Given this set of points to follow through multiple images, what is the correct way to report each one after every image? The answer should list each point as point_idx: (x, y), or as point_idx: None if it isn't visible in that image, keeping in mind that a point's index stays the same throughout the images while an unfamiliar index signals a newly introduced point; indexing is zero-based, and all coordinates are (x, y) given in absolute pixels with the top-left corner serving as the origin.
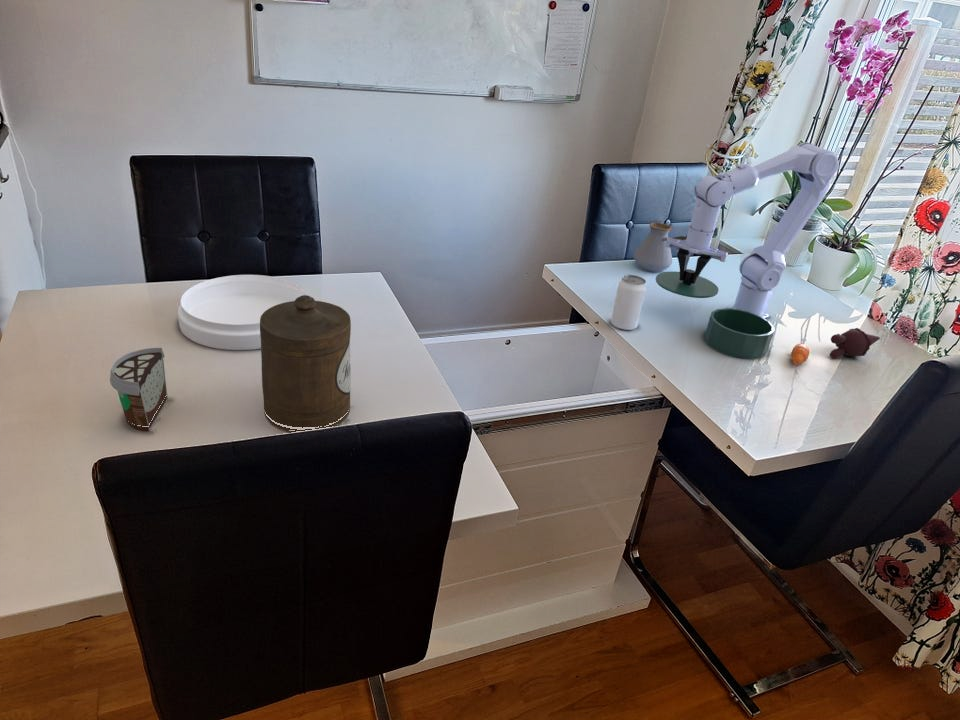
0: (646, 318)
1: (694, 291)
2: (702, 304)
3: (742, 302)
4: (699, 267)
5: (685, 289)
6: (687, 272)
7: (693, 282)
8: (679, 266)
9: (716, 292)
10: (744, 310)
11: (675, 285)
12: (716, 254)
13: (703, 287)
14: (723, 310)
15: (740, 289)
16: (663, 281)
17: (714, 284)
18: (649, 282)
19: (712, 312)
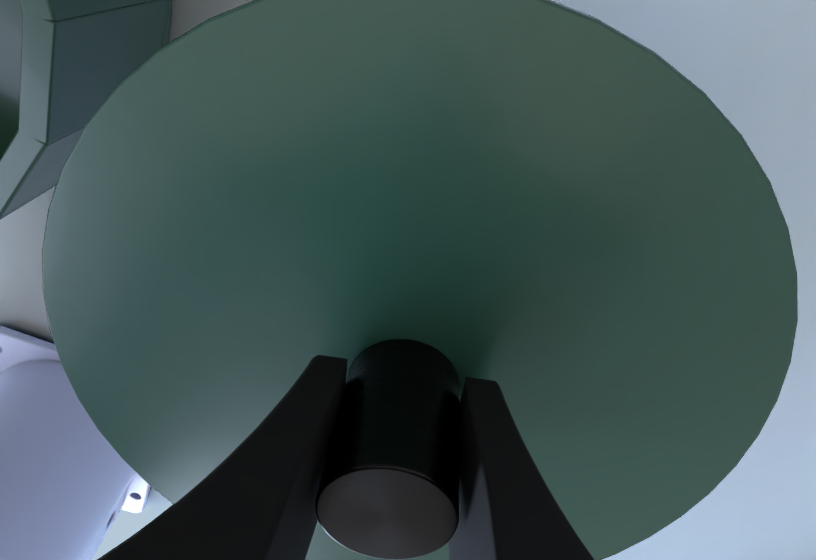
0: (672, 15)
1: (269, 189)
2: None
3: (32, 445)
4: (194, 543)
5: (389, 185)
6: (419, 466)
7: (319, 363)
8: (575, 532)
9: (54, 311)
10: (32, 400)
11: (533, 248)
12: None
13: (216, 366)
14: (2, 159)
15: (34, 539)
16: (697, 293)
17: (157, 482)
18: (631, 556)
19: (41, 6)
